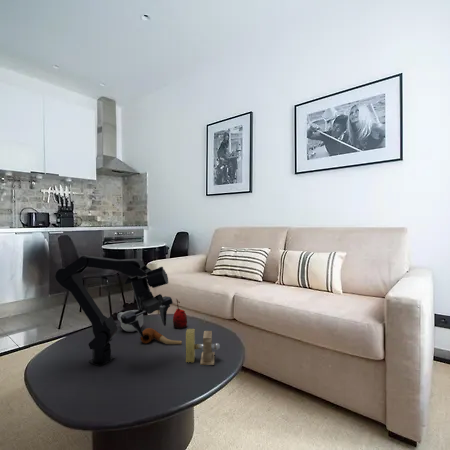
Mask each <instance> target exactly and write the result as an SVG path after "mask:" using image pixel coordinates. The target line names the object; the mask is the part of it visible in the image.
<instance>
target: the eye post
mask: <svg viewBox="0 0 450 450" xmlns="http://www.w3.org/2000/svg"><path fill="white" fill-rule="evenodd" d="M212 331H213V330H204V331H203V337H202V344H203V349H202V352H201V357H200V363H199V366H200V365H214V366H215V356H214V355H215V353H216V352H215V351H213V349H212V347H211V344H213V332H212Z"/></svg>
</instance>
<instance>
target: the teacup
mask: <svg viewBox="0 0 450 450" xmlns="http://www.w3.org/2000/svg"><path fill="white" fill-rule="evenodd" d="M138 310H139V309H133V310H126V311H124V312H122V311H120V312H118V313H117V317H116V318H117V320H118V321H119V322H120V326H121V328H122V329H123V331H125V332H127V333H129V332H130V333H133V332H137V330H136V329H135V328H134V327H133V326H132V325H129V324H124V323H122V320H121V316H122V315H123V314H125V313H127V312H130V311H132V312H136V311H138ZM136 320H138V322H139V326H140V328H141V329H142V326H143V324H144V314H142V315H139V316H137V318H136Z"/></svg>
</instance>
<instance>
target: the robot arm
mask: <svg viewBox="0 0 450 450" xmlns="http://www.w3.org/2000/svg"><path fill="white" fill-rule="evenodd" d="M87 268H93V269H95V268H96V269H102V270H103V269H104V270H111V271H117V272H118V273H121V274H123V275H127V279H126V281H125V282H124V284H125V285H127V284H128V285H129V284H131V287H132V291H133V294H134V296H133V297H134V299H135V300H136V304H137V310H138V311H136V312H132V311H131V310H129V311H130V312H127V313H125V314H123V315H122V316H121V320H122V323H124V324H129V325H132V326H133V327H134V328H135V329H136V330H137V331H136V332H137V333H138V334H139V335H140V337H143V333H142V332H143V330H142V327H141V328H140V326H139V322H138V320H136V318H137V316H139V315H142V314H143V315H144V314H146V313H147V314H149V315H151V314H153V313H154V312H157V311H158V312H159V315H160V318H161V321H162V324H163V326H164V327H166V325H167V314H168V313H167V312H168V310H169V308H170V307H171V305H172V304H174V302H173V299H172V297H171V296H166V295H165V296H163V294H162V293H160V294H157V295H155V296H154V295H153V292H152V291H151V289H150V288H153V289H155V288H159V287H163V286H165V285H168V284H169V277H168V274H167V273H166V270H165V269H164V266H160V267H158V268H154V269H151V268H150V267H148V266H147V265H145V264H144V262H143V260H142V259H140V258H127V259H125V258H124V259H118V258H117V259H116V258H109V257H101V256H93V255H91V254H86V255H82V256H80V257H78V258H77V259H76V260H74V261H73V262H71V263H70V264H68V265H66V266H65V267H62V268H59V269H57V270H56V272H55V276H54V278H55V281H56V282H57V283H58V284H59V285H60V286H61V288H63V289H65V290H67V291H68V292H70V294H71V295H72V297H73V298H74V300H75V301H76V303H77V304H78V305H79V307H80V308H81V310H82V312H83V313H84V314H85V316H86V317H87V319H88V320H89V322H90V323H91V329H92V334H93V336H94V337H93V339H91V341H90V342H89V343H88V348H89V350H92V352H91V353H92V355H91V356H92V359H90V360H88V363H90V364H92V365H95V366H97V367H102V366H103V365H104V364H105V365H106V364H107V363H109V362H111V361H113V360H115V357H113V356H112V349H111V343H110V342H111V341H112V340H113V338H114V337H115V336H116V335H117V333H118V326H117V325H118V322H116V321H115V320H114V318H113V316H111V315H110V316H109V317H108V316H105V314H103V312H102V311H101V309H100V307H98V305H97V303H96V302H95V300H94V299H93V297H92V295H91V294H90V293H89V291H88V290H87V289H86V287H85V286H84V282H83V275H82V273H83V272H84V271H85V270H86V269H87Z"/></svg>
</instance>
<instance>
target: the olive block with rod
mask: <svg viewBox="0 0 450 450" xmlns="http://www.w3.org/2000/svg"><path fill="white" fill-rule="evenodd" d="M211 347H212V350H216V351H218V350H220V348H221V345H220V343H219V342H215V343H212V344H211ZM196 350H203V343H196V329H195V328H187V329H186V331H185V363H187V362H188V363H189V362H191V363H195V361H196V359H195V358H196Z"/></svg>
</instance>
